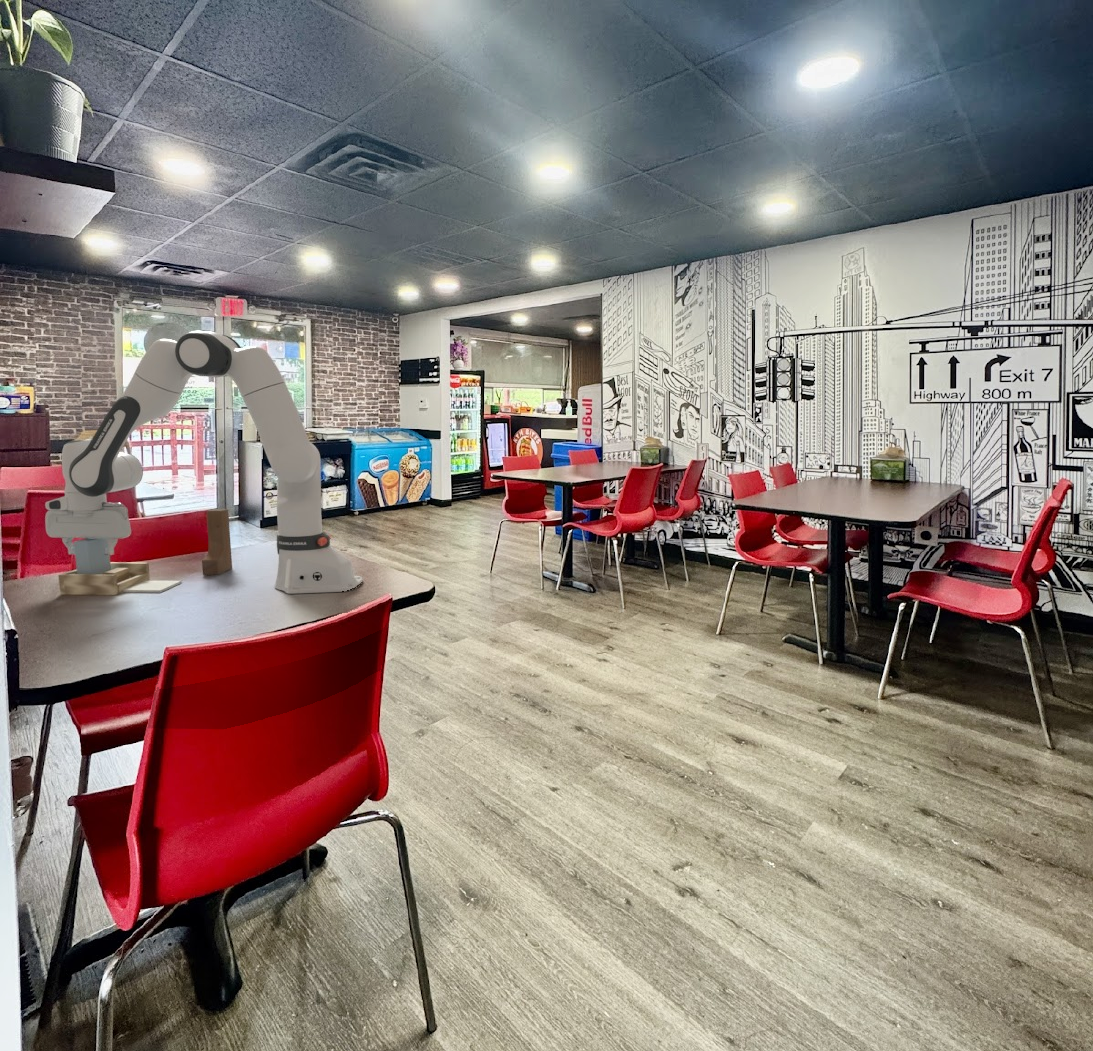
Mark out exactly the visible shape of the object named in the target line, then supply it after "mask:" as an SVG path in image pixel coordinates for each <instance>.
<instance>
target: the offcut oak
mask: <svg viewBox="0 0 1093 1051" xmlns="http://www.w3.org/2000/svg"><path fill="white" fill-rule="evenodd" d="M103 574H115V575H116V576H117V581H120V580H123V579H125V578H128V577H129V569H128V568H115V569H112V570H109V571H107V572H104V573H103Z"/></svg>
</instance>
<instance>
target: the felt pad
mask: <svg viewBox="0 0 1093 1051" xmlns="http://www.w3.org/2000/svg"><path fill="white" fill-rule="evenodd" d="M180 584H182V580H151V579H150V580H146V581H143V582H141V583H139V584H136V585H134V586H131V587H129V588H126V589H124V590H123V592H122V593H152V594H153V593H154V594H155V593H160V594H161V593H162V592H165V591H168V590H170V589H172V588H173V587H176V586H177V585H180Z"/></svg>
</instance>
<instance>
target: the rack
mask: <svg viewBox="0 0 1093 1051" xmlns="http://www.w3.org/2000/svg"><path fill="white" fill-rule="evenodd" d="M110 564H111V570H112V569H115V568H128V569H129V576H132V578H129V579H127V580H124V581H122V582H119V583H117V576H116V575H115V574H77V568H76V569H73V570H70V571H68V572H64V573H60V574H58V576H57V577H58V583H59V590H60V591H59V593H60V595H91V596H92V595H93V596H94V595H97V596H100V595H101V596H104V595H107V596H111V595H112V596H116V595H118V594H122V593H124V592H123V590H124V589H126V588H129V587H131V586H134V585H136V584H139V583H141V582H143V581H146V580H151V575H150V565H149V564H150V563H149V562H133V561H131V562H126V561H123V562H122V561H119V562H115V561H110Z"/></svg>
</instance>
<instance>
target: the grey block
mask: <svg viewBox="0 0 1093 1051" xmlns="http://www.w3.org/2000/svg"><path fill="white" fill-rule="evenodd" d="M73 544H74V549H75V554H74V556H75V557H74V558H75V566H76V567H75V568H76V569H77V574H103V573H104V572H107V571H109V570H111V564H110V562H111V555H105V554H104V549H105V548H107V547H108V545H109V542H107V538H81V539H79V540H74V541H73Z"/></svg>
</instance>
